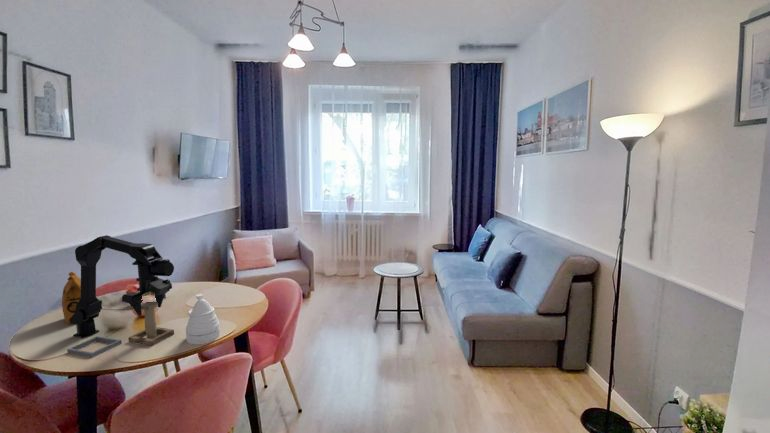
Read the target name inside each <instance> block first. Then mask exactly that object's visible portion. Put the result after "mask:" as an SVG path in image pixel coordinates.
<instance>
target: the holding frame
mask: <svg viewBox="0 0 770 433" xmlns="http://www.w3.org/2000/svg"><path fill="white" fill-rule="evenodd" d="M98 341H99V342H104V343H105V342H106V343H110V344H107V345H105V346H103V347H101V348H99V349H96V350H95V351H92V352H91V351H87V350H86V351H85V350H81V349H82V348H84V347H86V346H88V345H91V344H93V343H95V342H98ZM121 344H122V339H118V338H112V337H108V336H106V337H105V336H100V335H97V336H94V337H93V338H90V339H88V340H85V341H83V342H81V343H78V344H75V345H74V346H72V347H69V348H66V350H67V354H73V355H77V356H82V357H87V358H94V357H96V356H98V355H100V354H103V353H105V352H106V351H109V350H111V349H113V348H115V347H118V346H119V345H121Z"/></svg>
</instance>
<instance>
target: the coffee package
mask: <svg viewBox="0 0 770 433" xmlns="http://www.w3.org/2000/svg"><path fill="white" fill-rule="evenodd" d="M68 276H69V277H68V278H67V280H68V281H67V282H66V284H65V285H64V287H63V290H62V297H61V308H62V313H63V314H62V315H63V317H64V322H65V324H67V325H72V324H71V323H70V321H69V319H70V318H71V317H72V316H73V315H74V314H75V309H76V305H77V303H78V302H79V300H80V298H81V277H79V276H78V275H77V274H76V273H75V272H74V271H70V272H69V273H68Z"/></svg>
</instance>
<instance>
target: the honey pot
mask: <svg viewBox="0 0 770 433" xmlns="http://www.w3.org/2000/svg"><path fill="white" fill-rule="evenodd" d="M203 296H204V294H202V293H200V294H199V293H198V294H196V295H195V297H196V299H197V301H196V302H195V304H194V306H193V307H192V308H191V309H190V310H188V312H187V315H188V316H189V318H188V320H187V325H186V327H185V334H186V335H185V336H186V339H185V340H186V342H187V343H189V344H191V345H203V344H207V343H211V342H213V341H215V340H218V338H219V337H220V336H221V326H220V321H219V319H218V317H217V314H216V312H215V307H214V306H211V304H210V302H208V301H207V300H206V299H204V298H203Z"/></svg>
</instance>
